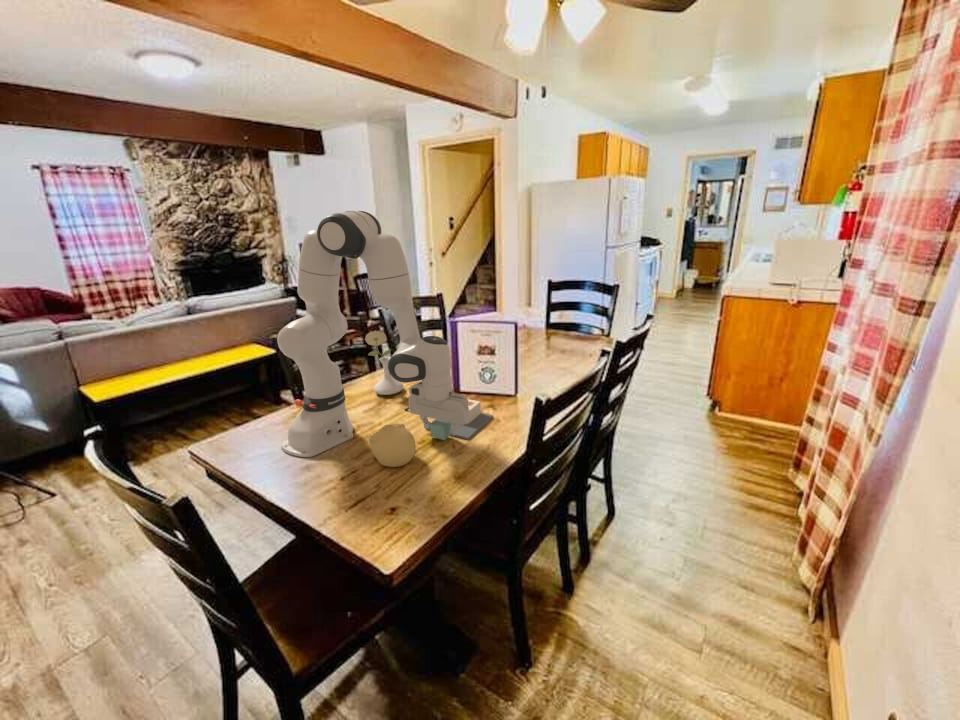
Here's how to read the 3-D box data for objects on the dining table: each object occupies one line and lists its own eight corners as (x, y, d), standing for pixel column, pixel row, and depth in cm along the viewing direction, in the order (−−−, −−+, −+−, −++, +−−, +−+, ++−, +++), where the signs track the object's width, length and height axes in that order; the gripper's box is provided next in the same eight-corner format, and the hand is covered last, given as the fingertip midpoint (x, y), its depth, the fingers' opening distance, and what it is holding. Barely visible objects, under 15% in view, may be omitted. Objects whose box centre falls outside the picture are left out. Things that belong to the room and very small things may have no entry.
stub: (444, 440, 133) (443, 426, 131) (430, 436, 135) (429, 423, 134) (451, 434, 136) (450, 421, 135) (438, 431, 138) (437, 418, 137)
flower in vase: (406, 386, 177) (401, 326, 169) (399, 397, 166) (393, 334, 158) (375, 385, 178) (368, 326, 170) (366, 397, 168) (358, 334, 159)
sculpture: (397, 445, 133) (393, 413, 129) (424, 458, 125) (421, 424, 122) (366, 462, 124) (361, 428, 121) (393, 477, 117) (389, 441, 114)
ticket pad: (468, 440, 135) (467, 424, 133) (425, 429, 142) (424, 414, 140) (493, 417, 149) (492, 403, 147) (453, 408, 156) (452, 395, 154)
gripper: (473, 391, 128) (474, 433, 133) (416, 380, 138) (419, 420, 142) (462, 400, 123) (463, 443, 128) (404, 387, 133) (407, 428, 137)
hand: (440, 430), depth 135 cm, fingers open, 8 cm apart
